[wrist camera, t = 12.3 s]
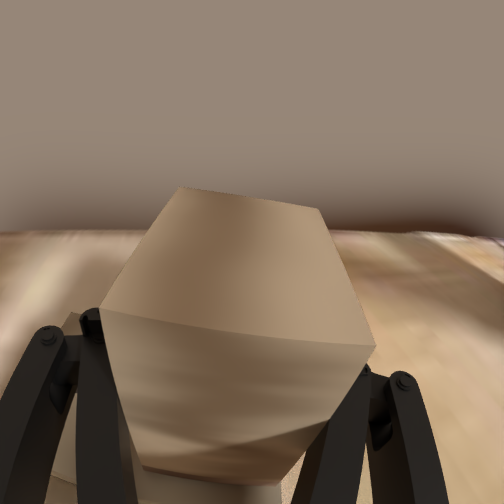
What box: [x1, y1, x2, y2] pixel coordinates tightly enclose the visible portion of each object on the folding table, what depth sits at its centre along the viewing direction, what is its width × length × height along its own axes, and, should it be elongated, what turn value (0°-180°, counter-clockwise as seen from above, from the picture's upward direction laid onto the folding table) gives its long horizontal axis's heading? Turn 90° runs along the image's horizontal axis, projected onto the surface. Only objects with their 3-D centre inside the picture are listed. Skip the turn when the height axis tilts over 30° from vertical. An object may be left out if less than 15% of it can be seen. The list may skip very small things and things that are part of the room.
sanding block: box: [99, 187, 376, 487], centre depth 12 cm, size 6×8×10 cm
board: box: [51, 312, 282, 504], centre depth 15 cm, size 14×11×2 cm
